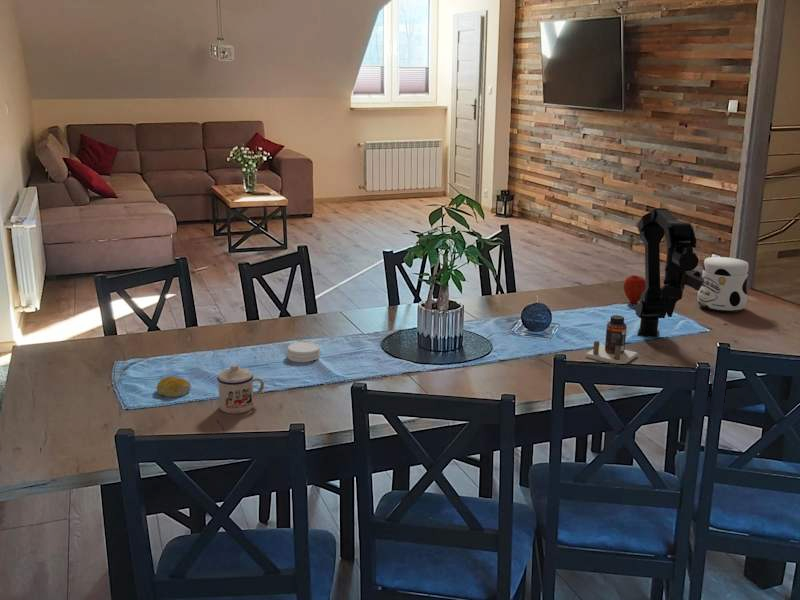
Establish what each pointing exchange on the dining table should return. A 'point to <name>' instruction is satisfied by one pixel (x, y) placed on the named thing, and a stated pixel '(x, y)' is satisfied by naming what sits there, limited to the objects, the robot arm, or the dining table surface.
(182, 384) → the bread roll
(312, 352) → the white short cylinder
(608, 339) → the supplement bottle
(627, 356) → the pegboard
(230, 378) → the teacup with lid
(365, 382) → the dining table surface
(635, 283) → the apple
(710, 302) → the milk container
